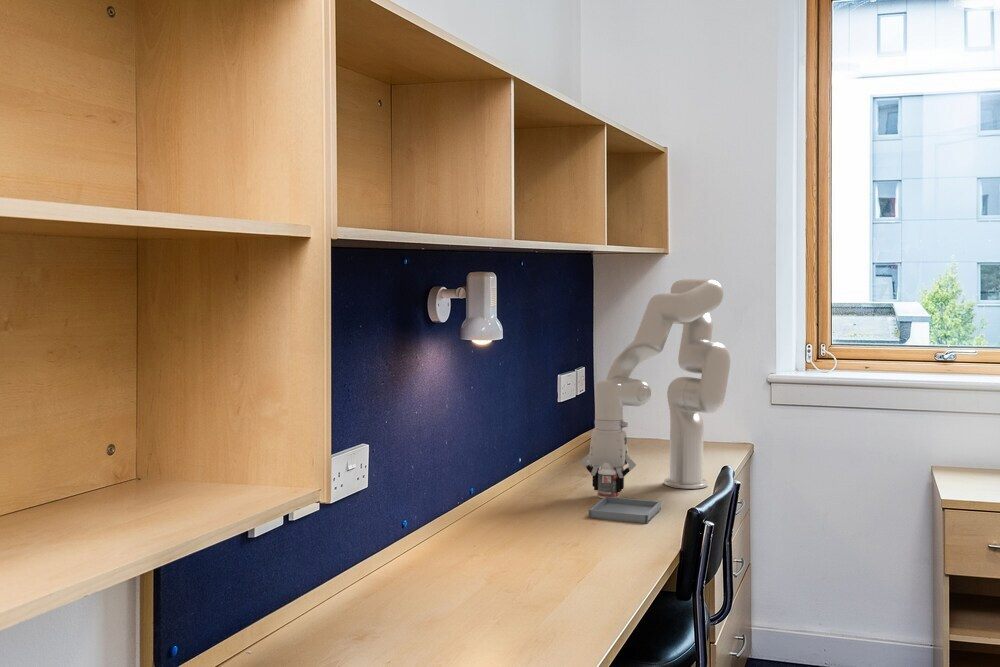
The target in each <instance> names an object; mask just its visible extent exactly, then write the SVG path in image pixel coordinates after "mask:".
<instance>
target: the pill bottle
mask: <svg viewBox="0 0 1000 667" xmlns="http://www.w3.org/2000/svg"><path fill="white" fill-rule="evenodd" d="M617 478H618V473H617V470H616V468H614V467H611V466H610V465H609V463H604V464H603V466H600V468H599V470H598V490H597V498H600V499H603V498H605V497H616V498H619V492H617Z"/></svg>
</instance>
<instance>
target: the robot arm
mask: <svg viewBox="0 0 1000 667" xmlns="http://www.w3.org/2000/svg"><path fill="white" fill-rule="evenodd" d="M723 300H724V289H723V287H722V285H721V284H720V282H718V281H716V280H715V279H705V278H704V279H702V278H701V279H699V278H698V279H696V278H684V279H679V280H676V281H675V282H674V283H673V284H672V285H671V287H670V293H665V292H663V293H657V294H654V295H653V296H652V297H651V298H650V299H649V301H648V302H647V304H646V308H645V311H644V313H643V316H642V319H641V321H640V322H639V323H640V324H639V326H638V329H637V331H636V334H635V337H634V338H633V340H632V341H631V343H630V344H628V345H627V346H626V347H625V348H624V349H623V350H622V351H621V352H620V353H619V354H618V355H617V357H616V358H615V359H614V360H613V363H612V364H611V366H610V369H609V370H608V372H607V375H606V379H604V380H599V381H597V382H596V384H595V395H594V396H595V397H594V398H595V399H594V400H595V401H594V402H595V403H594V428H593V429H592V431H591V437H590V442H589V443H590V444H589V453H588V454H587V455H586V456H584V457H583V459H582V460H580V461H581V464H582V465H583V466H584V468H586V470H587V471H588V472H589V473H590V476H592V487H593V490H594V491H598V470H599V469H601V466H603V464H604V463H609V465H610V466H611V467H614V468H616V470H617V473H618V478H617V492H618V493H621V492H622V491H623V489H624V486H625V477H626V475H627V474H629V473H630V472H631V471H632V470H633V469H635V467H636V466H637V464H636V463H635V462H634V461H633V459H632V458H631V457H630V455H629V448H628V438H627V432H626V430H624V428H625V429H626V428H628V425H629V424H628V422H625V421H624V419H623V417H624V416H623V415H624V413H623V412H624V411H623V410H624V408H623V407H641V406H643V405H645V404H647V403H648V402H649V401H650V400H651V399H650V398H651V396H652V391H651V390H652V389H651V386H649V384H648V383H647V382H646V381H645V380H641V379H637V378H632V377H631V375H632V374H633V372H634V370H635V369H636V368H637V367H638V366H640V364H642V363H643V362H645V361H647V360H650V359H652V358H654V357H655V356H657V355H659V354H660V353H662V351H664V347H665V345H666V343H667V339H668V336H669V335H670V332H671V329H672V326H673V324H675V325H676V324H677V325H682V333H681V338H680V339H681V340H680V344H679V350H678V360H677V361H678V366H679V368H681V370H682V371H685V372H687V373H691V374H692V373H693V374H699V375H701V378H699V377H694V376H692V377H691V376H679V377H675V379H673V380H672V381H671V382H670V383H669V385H668V387H667V392H666V397H667V402H668V408H669V420H670V422H669V424H670V426H669V427H670V428H669V431H670V432H669V477H666V478H664V479H663V484H664V485H665V486H668V487H670V488H675V489H684V490H685V489H686V490H689V489H693V490H694V489H703V488H706V487H708V486H709V482H708V480H706V479H705V478H703V472H704V471H703V470H704V467H703V466H704V420H703V417H702V414H701V413H705V414H714V413H716V412H718V411H719V410H720V409H721V408H722V406H723V404H724V402H725V397H726V392H727V387H728V380H729V374H730V368H731V357H730V353H729V352H730V351H729V350H728V348H727V347H726V346H725V344H723V343H721V342H717V341H712V335H713V328H714V327H713V326H714V325H713V318H712V316H711V314H710V313H711V312H713V311H714V310H716V309H717V308H718V307H719V306H720V305H721V303H722V302H723ZM626 465H628V466H627V467H626V468H625V469H624V467H625V466H626Z"/></svg>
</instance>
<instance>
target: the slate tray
mask: <svg viewBox="0 0 1000 667" xmlns="http://www.w3.org/2000/svg"><path fill="white" fill-rule="evenodd" d="M661 510H662V501H658V500H648V499H647V500H646V499H635V498H625V497H617V498H616V497H605V498H601V499H600V501H599V502H597V503H596V504H594V505H593V506H592V507H590V508H589V509H588V518H589V519H597V520H598V519H599V520H608V521H617V522H618V521H619V522H629V523H638V524H639V523H640V524H649V522H650V521H652V519H653V518H654V517H655V516H656V515H657V514H658V513H660V511H661Z"/></svg>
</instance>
